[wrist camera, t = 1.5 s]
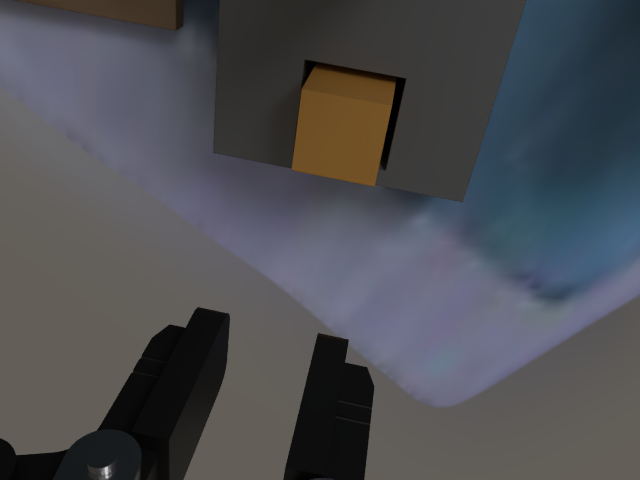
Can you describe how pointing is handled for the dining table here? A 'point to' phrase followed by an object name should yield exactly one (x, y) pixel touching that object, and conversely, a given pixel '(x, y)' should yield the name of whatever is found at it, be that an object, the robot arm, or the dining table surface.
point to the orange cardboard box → (343, 123)
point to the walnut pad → (125, 10)
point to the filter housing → (375, 56)
